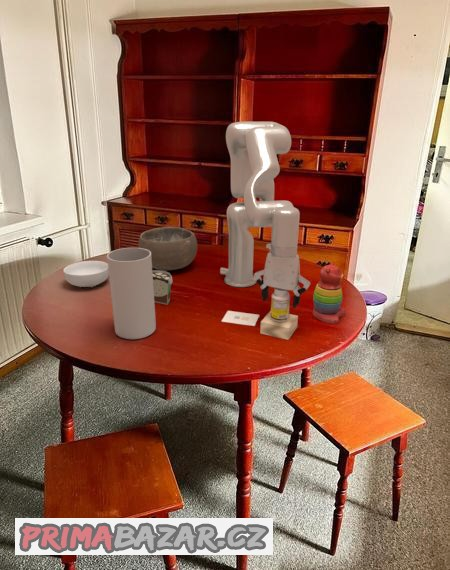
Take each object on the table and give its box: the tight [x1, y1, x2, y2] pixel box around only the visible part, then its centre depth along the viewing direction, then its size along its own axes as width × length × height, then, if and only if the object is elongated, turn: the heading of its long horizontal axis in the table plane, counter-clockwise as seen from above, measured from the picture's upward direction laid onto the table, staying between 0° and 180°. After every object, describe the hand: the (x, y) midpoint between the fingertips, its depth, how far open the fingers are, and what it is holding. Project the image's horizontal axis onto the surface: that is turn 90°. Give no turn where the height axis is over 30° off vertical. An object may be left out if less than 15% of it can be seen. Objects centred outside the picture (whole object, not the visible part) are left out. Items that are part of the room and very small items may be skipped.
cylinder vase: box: [106, 247, 157, 340], centre depth 129 cm, size 12×12×25 cm
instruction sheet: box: [221, 310, 260, 327], centre depth 142 cm, size 11×8×1 cm
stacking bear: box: [311, 262, 346, 325], centre depth 141 cm, size 11×10×18 cm
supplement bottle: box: [270, 287, 291, 322], centre depth 131 cm, size 6×6×10 cm
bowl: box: [138, 226, 198, 272], centre depth 183 cm, size 24×24×15 cm
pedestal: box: [259, 310, 299, 341], centre depth 134 cm, size 9×9×4 cm
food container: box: [152, 269, 173, 305], centre depth 154 cm, size 12×6×10 cm, turn 65°
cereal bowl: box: [62, 260, 109, 288], centre depth 167 cm, size 17×17×7 cm
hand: (280, 302), depth 132 cm, fingers open, 9 cm apart
